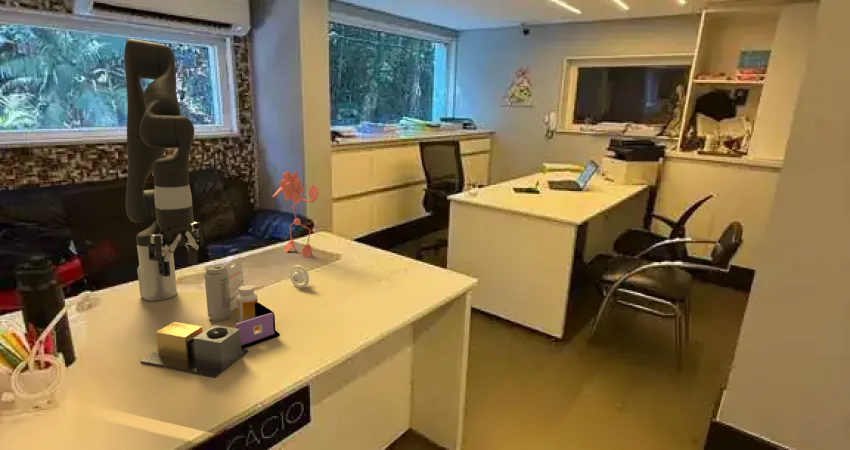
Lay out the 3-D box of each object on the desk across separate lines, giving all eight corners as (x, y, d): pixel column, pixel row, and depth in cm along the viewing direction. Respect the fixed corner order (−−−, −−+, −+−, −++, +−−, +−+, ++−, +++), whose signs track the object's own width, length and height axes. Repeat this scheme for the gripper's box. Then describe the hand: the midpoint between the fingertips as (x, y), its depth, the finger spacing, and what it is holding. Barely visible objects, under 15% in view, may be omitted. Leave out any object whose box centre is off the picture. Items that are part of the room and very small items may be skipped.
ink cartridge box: (230, 300, 142) (227, 254, 139) (245, 301, 141) (242, 256, 138) (213, 311, 134) (209, 263, 131) (229, 313, 133) (225, 265, 130)
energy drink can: (214, 312, 134) (210, 263, 130) (234, 313, 133) (231, 264, 130) (204, 321, 128) (199, 270, 124) (225, 322, 128) (221, 271, 124)
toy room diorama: (281, 336, 122) (280, 312, 120) (237, 352, 113) (235, 326, 111) (259, 321, 130) (258, 298, 128) (216, 334, 121) (215, 310, 119)
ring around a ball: (286, 287, 154) (286, 264, 152) (298, 282, 159) (298, 260, 157) (305, 292, 150) (304, 269, 148) (316, 286, 155) (316, 264, 153)
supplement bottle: (262, 317, 132) (260, 285, 129) (250, 325, 127) (248, 292, 124) (247, 314, 133) (245, 282, 131) (234, 321, 128) (231, 289, 126)
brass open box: (158, 355, 109) (156, 332, 107) (176, 344, 114) (174, 321, 113) (187, 360, 107) (184, 337, 106) (204, 349, 112) (202, 326, 111)
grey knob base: (140, 363, 106) (136, 332, 104) (179, 339, 118) (177, 311, 116) (214, 378, 102) (212, 346, 100) (248, 351, 113) (246, 323, 111)
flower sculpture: (284, 248, 195) (281, 166, 187) (329, 260, 182) (327, 172, 173) (254, 257, 183) (249, 169, 174) (299, 271, 169) (296, 176, 161)
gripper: (183, 196, 114) (188, 258, 118) (134, 208, 100) (141, 277, 104) (209, 200, 112) (213, 262, 116) (162, 212, 98) (169, 282, 103)
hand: (179, 269), depth 110 cm, fingers open, 8 cm apart
